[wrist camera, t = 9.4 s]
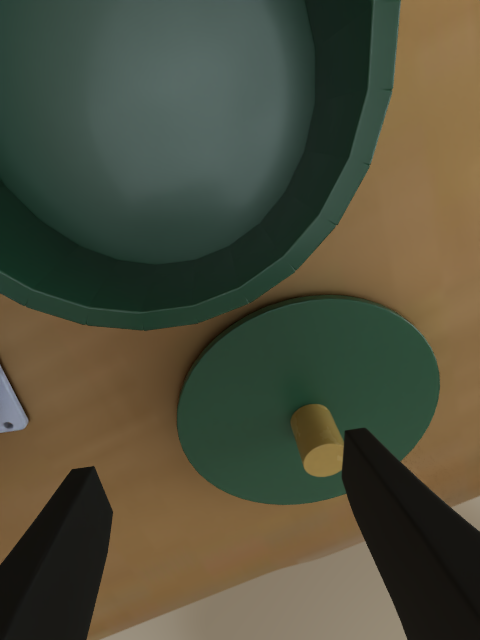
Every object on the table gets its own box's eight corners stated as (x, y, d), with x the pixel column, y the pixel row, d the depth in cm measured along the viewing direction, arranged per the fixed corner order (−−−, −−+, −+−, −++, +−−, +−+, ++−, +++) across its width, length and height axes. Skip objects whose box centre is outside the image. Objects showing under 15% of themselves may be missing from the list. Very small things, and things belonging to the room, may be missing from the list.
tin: (25, 294, 18) (-43, 356, 13) (-177, -182, 11) (-522, -472, 6) (327, 255, 18) (375, 300, 13) (336, -221, 11) (447, -513, 6)
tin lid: (199, 505, 27) (199, 568, 23) (151, 311, 19) (139, 357, 15) (412, 472, 27) (446, 527, 24) (450, 271, 20) (511, 305, 16)
